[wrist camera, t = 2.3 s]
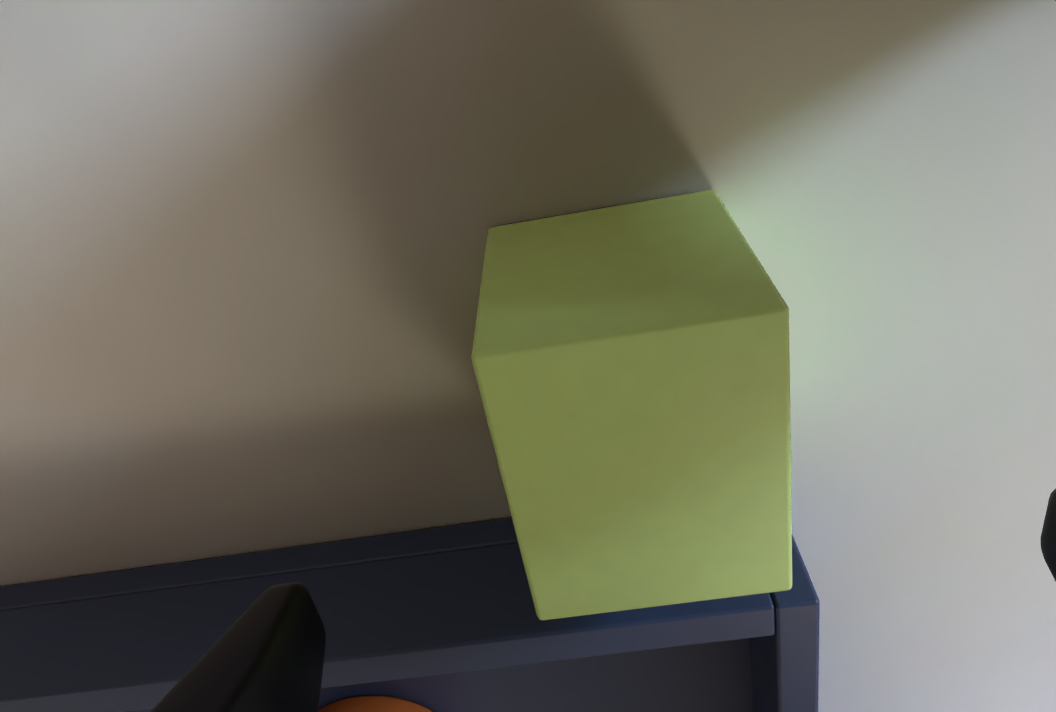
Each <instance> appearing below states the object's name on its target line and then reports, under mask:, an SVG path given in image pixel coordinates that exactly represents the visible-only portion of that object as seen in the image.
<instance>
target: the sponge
mask: <svg viewBox="0 0 1056 712" xmlns="http://www.w3.org/2000/svg"><path fill="white" fill-rule="evenodd" d="M471 360H472V364H473V368H474V372H475V375H476V379H477V383H478V387H479V391H480V395H481V399H482V403H483V407H484V411H485V415H486V419H487V422H488V426H489V430H490V434H491V438H492V442H493V446H494V450H495V454H496V458H497V462H498V466H499V469H500V473H501V477H502V481H503V485H504V489H505V493H506V497H507V501H508V505H509V509H510V513H511V517H512V520H513V524H514V528H515V532H516V536H517V540H518V544H519V548H520V552H521V556H522V560H523V564H524V567H525V571H526V575H527V579H528V583H529V587H530V591H531V595H532V599H533V603H534V607H535V611H536V614H537V617H538V618H539V620H550V619H558V618H566V617H575V616H583V615H591V614H599V613H607V612H615V611H624V610H632V609H640V608H648V607H656V606H664V605H673V604H681V603H689V602H697V601H705V600H714V599H722V598H730V597H738V596H746V595H754V594H763V593H771V592H779V591H787V590H790V589H791V588H792V514H791V437H790V360H789V308H788V306H787V304H786V303H785V301H784V300H783V298H782V297H781V295H780V293H779V292H778V290H777V289H776V287H775V285H774V284H773V282H772V281H771V279H770V277H769V276H768V274H767V273H766V271H765V270H764V268H763V266H762V265H761V263H760V262H759V260H758V258H757V257H756V255H755V254H754V252H753V250H752V249H751V247H750V246H749V244H748V243H747V241H746V239H745V238H744V236H743V235H742V233H741V231H740V230H739V228H738V227H737V225H736V223H735V222H734V220H733V219H732V217H731V216H730V214H729V212H728V211H727V209H726V208H725V206H724V204H723V203H722V201H721V200H720V198H719V196H718V195H717V193H716V192H715V190H706V191H700V192H695V193H689V194H683V195H677V196H671V197H665V198H660V199H654V200H648V201H642V202H636V203H631V204H625V205H619V206H613V207H607V208H601V209H596V210H590V211H584V212H578V213H572V214H567V215H561V216H555V217H549V218H543V219H537V220H532V221H526V222H520V223H514V224H508V225H503V226H497V227H491V228H490V229H488V234H487V241H486V249H485V257H484V264H483V272H482V279H481V287H480V295H479V302H478V310H477V317H476V325H475V333H474V340H473V348H472V356H471Z"/></svg>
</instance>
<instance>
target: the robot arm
mask: <svg viewBox="0 0 1056 712" xmlns="http://www.w3.org/2000/svg"><path fill="white" fill-rule="evenodd" d="M1041 549H1042V553H1043V556H1044V559H1045V561H1046V563H1047V565H1048V567H1049V569H1050V571H1051V573H1052V575H1053V577H1054V579H1055V581H1056V489H1055V490H1054V491H1053V492H1052V493H1051V495H1050V498H1049V502H1048V507H1047V511H1046V516H1045V520H1044V525H1043V530H1042V534H1041ZM325 646H326V633H325V628H324V624H323V622H322V619H321V617H320V615H319V613H318V611H317V608H316V606H315V604H314V602H313V600H312V598H311V595H310V593H309V591H308V589H307V587H306V586H305V585H304V584H303V583H300V582H293V583H285V584H278V585H273V586H270V587H269V588H268V589H266V590H265V591H264V592H263V593H262V594H261V595H260V596H259V597H258V599H257V600H256V601H255V602H254V603H253V604H252V605H251V606H250V607H249V608H248V609H247V610H246V611H245V612H244V613H243V614H242V615H241V616H240V617H239V619H238V620H237V621H236V622H235V623H234V624H233V625H232V626H231V627H230V628H229V629H228V630H227V631H226V632H225V633H224V634H223V635H222V636H221V637H220V639H219V640H218V641H217V642H216V643H215V644H214V645H213V646H212V647H211V648H210V649H209V650H208V651H207V652H206V653H205V654H204V655H203V656H202V657H201V659H200V660H199V661H198V662H197V663H196V664H195V665H194V666H193V667H192V668H191V669H190V670H189V671H188V672H187V673H186V674H185V675H184V676H183V677H182V679H181V680H180V681H179V682H178V683H177V684H176V685H175V686H174V687H173V688H172V689H171V690H170V691H169V692H168V693H167V694H166V695H165V696H164V697H163V699H162V700H161V701H160V702H159V703H158V704H157V705H156V706H155V707H154V708H153V709H152V710H151V711H150V712H318V709H319V700H320V691H321V682H322V673H323V664H324V655H325Z"/></svg>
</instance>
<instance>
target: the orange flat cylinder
mask: <svg viewBox="0 0 1056 712" xmlns="http://www.w3.org/2000/svg"><path fill="white" fill-rule="evenodd" d="M318 712H432V711H431V710H429V709H428V708H425V707H423V706H421V705H419V704H416V703H414V702H411V701H408V700H404V699H400V698H395V697H389V696H379V695H366V696H355V697H349V698H345V699H341V700H338V701H335V702H332V703H330V704H328V705H326V706H324V707H322V708H321V709H319V710H318Z"/></svg>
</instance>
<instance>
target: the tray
mask: <svg viewBox="0 0 1056 712" xmlns="http://www.w3.org/2000/svg"><path fill="white" fill-rule="evenodd" d="M293 582H300V583H303V584H304V585H305V586H306V587H307V589H308V591H309V593H310V595H311V598H312V600H313V602H314V604H315V606H316V608H317V611H318V613H319V615H320V617H321V619H322V622H323V624H324V628H325V633H326V646H325V655H324V664H323V673H322V682H321V691H320V700H319V709H321V708H322V707H324V706H326V705H328V704H330V703H332V702H335V701H338V700H341V699H345V698H349V697H355V696H366V695H379V696H389V697H395V698H400V699H404V700H408V701H411V702H414V703H416V704H419V705H421V706H423V707H425V708H428V709H429V710H431V711H432V712H818V674H819V599H818V596H817V594H816V591H815V589H814V587H813V584H812V582H811V579H810V577H809V574H808V572H807V569H806V567H805V565H804V562H803V560H802V557H801V555H800V552H799V550H798V548H797V545H796V543H795V540H794V538H793V535H792V588H791V589H790V590H787V591H779V592H771V593H763V594H754V595H746V596H738V597H730V598H722V599H714V600H705V601H697V602H689V603H681V604H673V605H664V606H656V607H648V608H640V609H632V610H624V611H615V612H607V613H599V614H591V615H583V616H575V617H566V618H558V619H550V620H539V618H538V617H537V614H536V611H535V607H534V603H533V599H532V595H531V591H530V587H529V583H528V579H527V575H526V571H525V567H524V564H523V560H522V556H521V552H520V548H519V544H518V540H517V536H516V532H515V528H514V524H513V520H512V518H506V519H498V520H491V521H484V522H476V523H469V524H461V525H454V526H447V527H439V528H432V529H424V530H417V531H410V532H402V533H395V534H388V535H380V536H373V537H365V538H358V539H351V540H343V541H336V542H328V543H321V544H314V545H306V546H299V547H292V548H284V549H277V550H269V551H262V552H255V553H247V554H240V555H233V556H225V557H218V558H210V559H203V560H196V561H188V562H181V563H173V564H166V565H159V566H151V567H144V568H137V569H129V570H122V571H114V572H107V573H100V574H92V575H85V576H77V577H70V578H63V579H55V580H48V581H41V582H33V583H26V584H18V585H11V586H4V587H0V712H150V711H151V710H152V709H153V708H154V707H155V706H156V705H157V704H158V703H159V702H160V701H161V700H162V699H163V697H164V696H165V695H166V694H167V693H168V692H169V691H170V690H171V689H172V688H173V687H174V686H175V685H176V684H177V683H178V682H179V681H180V680H181V679H182V677H183V676H184V675H185V674H186V673H187V672H188V671H189V670H190V669H191V668H192V667H193V666H194V665H195V664H196V663H197V662H198V661H199V660H200V659H201V657H202V656H203V655H204V654H205V653H206V652H207V651H208V650H209V649H210V648H211V647H212V646H213V645H214V644H215V643H216V642H217V641H218V640H219V639H220V637H221V636H222V635H223V634H224V633H225V632H226V631H227V630H228V629H229V628H230V627H231V626H232V625H233V624H234V623H235V622H236V621H237V620H238V619H239V617H240V616H241V615H242V614H243V613H244V612H245V611H246V610H247V609H248V608H249V607H250V606H251V605H252V604H253V603H254V602H255V601H256V600H257V599H258V597H259V596H260V595H261V594H262V593H263V592H264V591H265V590H266V589H268V588H269V587H270V586H273V585H278V584H285V583H293ZM319 709H318V710H319Z"/></svg>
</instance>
